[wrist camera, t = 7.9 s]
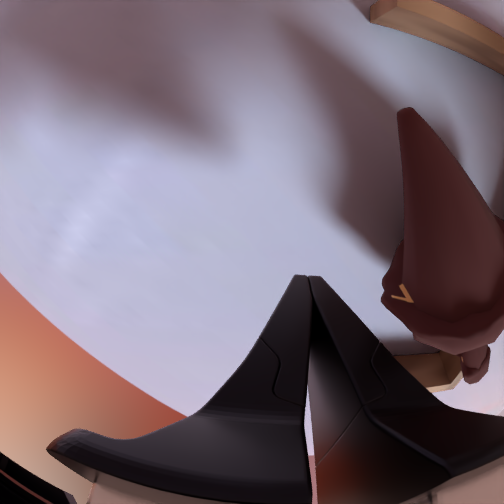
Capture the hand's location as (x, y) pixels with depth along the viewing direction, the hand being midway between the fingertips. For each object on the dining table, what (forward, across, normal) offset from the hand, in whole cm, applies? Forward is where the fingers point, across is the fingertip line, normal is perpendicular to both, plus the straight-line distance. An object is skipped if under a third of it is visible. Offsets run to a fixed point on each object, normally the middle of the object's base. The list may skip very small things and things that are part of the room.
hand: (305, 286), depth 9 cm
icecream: (+5, -7, 0) cm, 9 cm away
